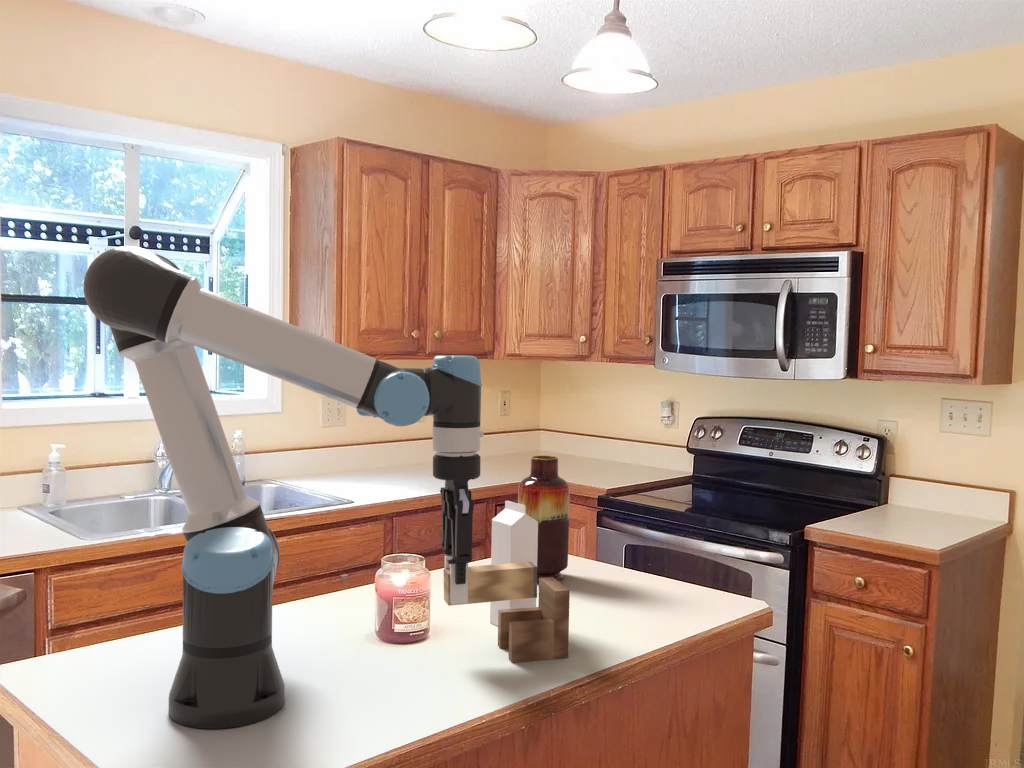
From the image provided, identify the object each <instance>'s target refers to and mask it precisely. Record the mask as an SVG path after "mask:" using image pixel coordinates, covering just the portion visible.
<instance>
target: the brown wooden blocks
mask: <svg viewBox="0 0 1024 768" xmlns="http://www.w3.org/2000/svg"><path fill="white" fill-rule="evenodd" d="M570 593H571V591H570V589H569V588H567V587H566V586H565V584H562V583H561V581H557V580H556V579H555V578H554V577H544V578H539V583H538V605H537V606H536V607H532V608H517V609H503V610H498V626H497V647H498V648H499V649H508V660H509V662H510V663H523V662H525V663H526V662H533V661H545V660H546V661H547V660H556V659H557V660H559V659H569V639H570V637H569V632H570V630H569V629H570V628H569V627H570V598H571V597H570Z"/></svg>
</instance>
